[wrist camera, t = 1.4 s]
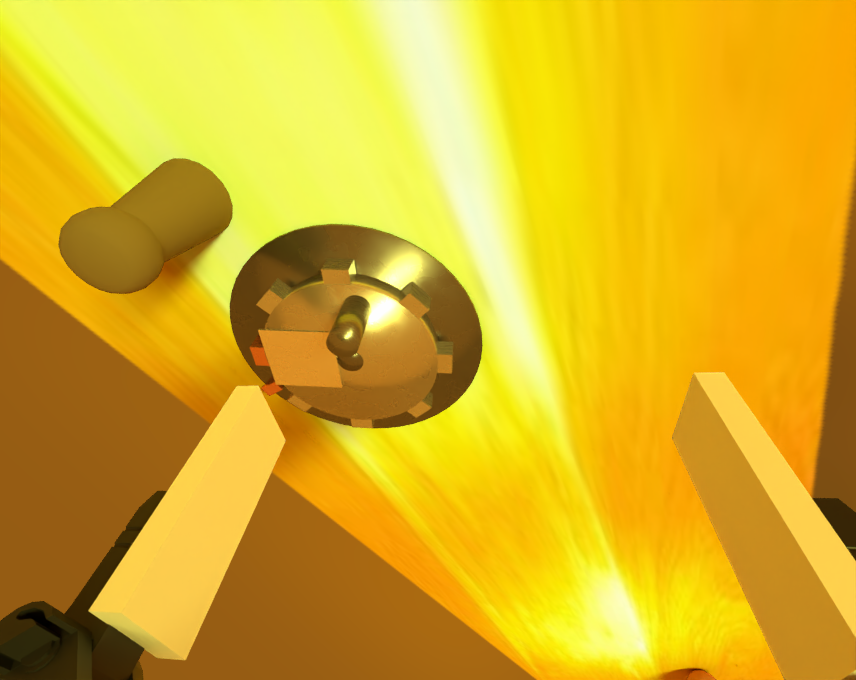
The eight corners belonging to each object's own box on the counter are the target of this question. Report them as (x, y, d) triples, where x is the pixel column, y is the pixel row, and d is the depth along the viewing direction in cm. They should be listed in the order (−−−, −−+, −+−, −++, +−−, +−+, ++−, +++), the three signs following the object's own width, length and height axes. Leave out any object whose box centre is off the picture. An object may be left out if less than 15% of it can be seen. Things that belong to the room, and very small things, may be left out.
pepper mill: (239, 183, 32) (151, 246, 23) (225, 247, 35) (144, 324, 26) (156, 142, 30) (30, 193, 22) (151, 213, 34) (40, 282, 25)
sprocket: (261, 393, 45) (232, 446, 40) (252, 235, 34) (209, 278, 28) (430, 428, 46) (424, 484, 41) (476, 286, 35) (477, 337, 29)
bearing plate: (240, 402, 47) (237, 405, 46) (218, 192, 32) (214, 195, 32) (448, 444, 48) (448, 448, 48) (518, 262, 34) (519, 266, 33)
